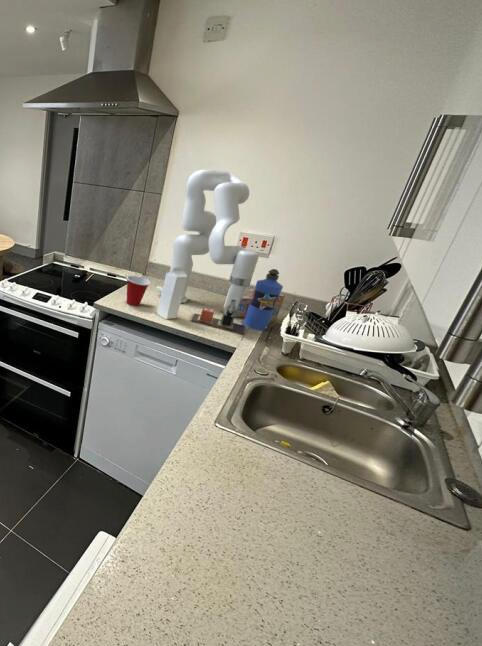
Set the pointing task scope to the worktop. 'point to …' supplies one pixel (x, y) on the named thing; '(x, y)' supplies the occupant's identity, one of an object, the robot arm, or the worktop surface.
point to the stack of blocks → (247, 300)
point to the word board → (219, 324)
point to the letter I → (232, 319)
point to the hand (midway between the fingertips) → (226, 322)
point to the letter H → (207, 314)
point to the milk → (172, 293)
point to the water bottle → (263, 301)
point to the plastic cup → (136, 289)
